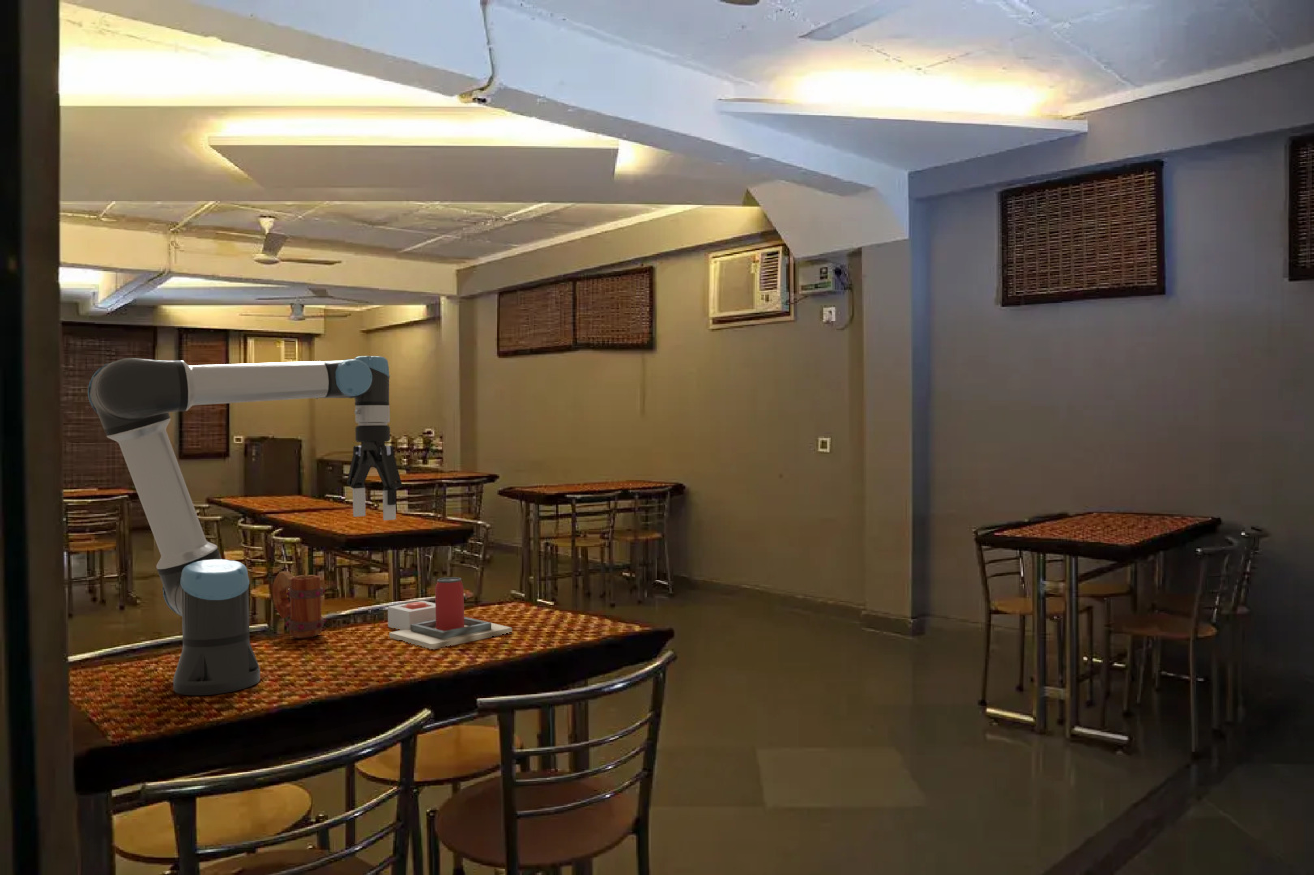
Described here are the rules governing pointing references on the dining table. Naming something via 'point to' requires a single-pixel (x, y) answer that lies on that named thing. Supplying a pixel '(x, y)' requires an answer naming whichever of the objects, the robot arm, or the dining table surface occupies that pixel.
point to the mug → (299, 603)
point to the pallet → (448, 633)
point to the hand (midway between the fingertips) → (374, 518)
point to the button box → (410, 615)
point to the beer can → (449, 603)
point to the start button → (415, 605)
